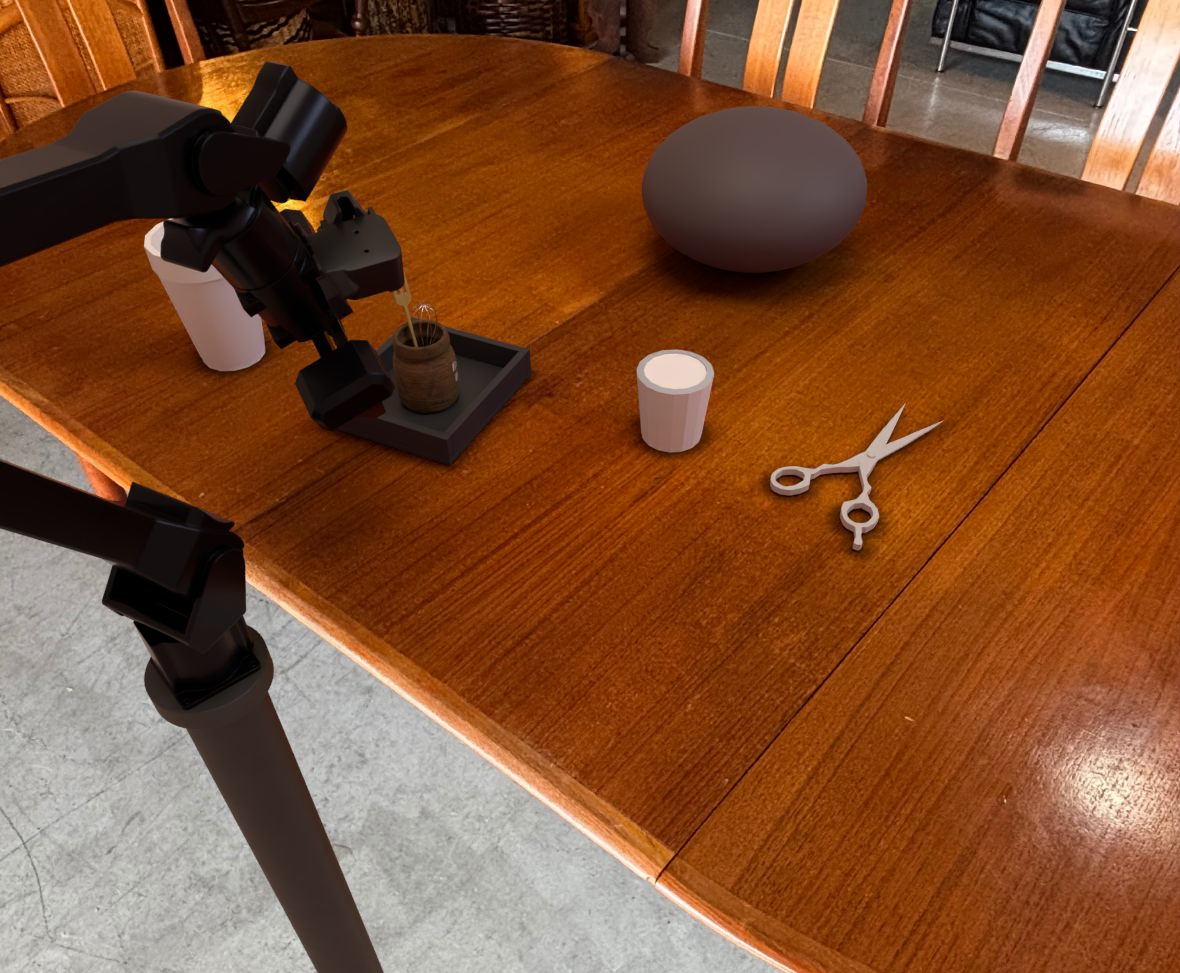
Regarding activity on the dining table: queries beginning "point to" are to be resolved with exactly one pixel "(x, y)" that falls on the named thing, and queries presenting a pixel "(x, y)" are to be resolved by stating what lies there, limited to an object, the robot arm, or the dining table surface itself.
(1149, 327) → the dining table surface
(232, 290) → the foam cup
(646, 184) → the smooth stone
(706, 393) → the shot glass
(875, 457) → the scissors
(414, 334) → the utensil holder
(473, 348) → the baking tray
